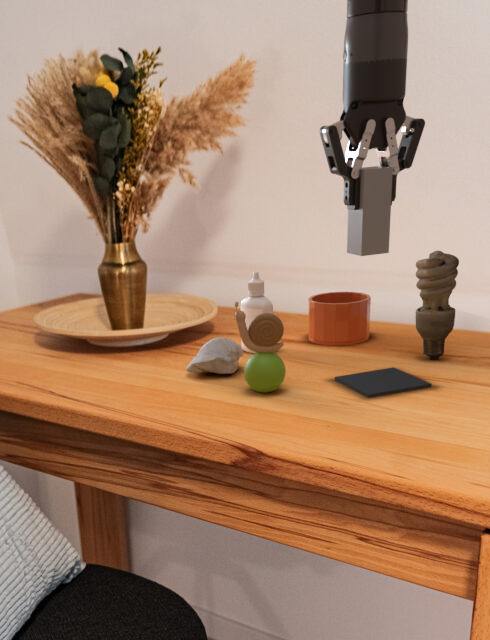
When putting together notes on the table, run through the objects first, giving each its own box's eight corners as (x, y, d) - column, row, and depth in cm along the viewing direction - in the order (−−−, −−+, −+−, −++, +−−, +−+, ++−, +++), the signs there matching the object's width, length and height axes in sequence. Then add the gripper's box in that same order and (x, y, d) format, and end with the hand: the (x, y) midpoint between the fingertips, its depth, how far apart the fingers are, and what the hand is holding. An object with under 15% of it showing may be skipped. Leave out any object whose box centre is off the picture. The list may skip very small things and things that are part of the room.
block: (373, 249, 114) (376, 166, 109) (388, 252, 110) (392, 166, 106) (346, 252, 113) (348, 168, 109) (361, 256, 109) (364, 169, 105)
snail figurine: (237, 387, 114) (234, 298, 109) (284, 385, 114) (284, 295, 109) (236, 399, 110) (233, 306, 105) (286, 397, 109) (285, 303, 104)
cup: (350, 329, 139) (351, 289, 137) (380, 340, 131) (381, 298, 128) (298, 336, 137) (298, 296, 135) (325, 349, 129) (326, 306, 126)
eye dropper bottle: (247, 356, 128) (245, 276, 123) (239, 348, 133) (237, 270, 128) (275, 353, 129) (274, 273, 124) (266, 345, 134) (265, 268, 129)
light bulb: (422, 366, 117) (429, 255, 110) (403, 357, 121) (408, 250, 115) (459, 361, 118) (468, 250, 111) (438, 352, 122) (446, 246, 116)
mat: (393, 371, 116) (393, 367, 115) (431, 388, 108) (431, 383, 107) (334, 381, 114) (334, 376, 113) (368, 398, 106) (368, 394, 105)
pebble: (242, 380, 117) (241, 344, 115) (184, 382, 118) (182, 347, 116) (244, 363, 125) (243, 330, 123) (190, 365, 126) (188, 332, 124)
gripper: (336, 59, 97) (332, 215, 104) (444, 52, 100) (434, 204, 107) (307, 64, 104) (306, 211, 111) (410, 58, 107) (402, 201, 114)
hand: (369, 207), depth 109 cm, fingers closed on block, 4 cm apart
